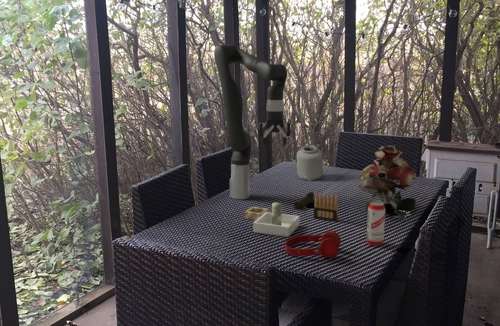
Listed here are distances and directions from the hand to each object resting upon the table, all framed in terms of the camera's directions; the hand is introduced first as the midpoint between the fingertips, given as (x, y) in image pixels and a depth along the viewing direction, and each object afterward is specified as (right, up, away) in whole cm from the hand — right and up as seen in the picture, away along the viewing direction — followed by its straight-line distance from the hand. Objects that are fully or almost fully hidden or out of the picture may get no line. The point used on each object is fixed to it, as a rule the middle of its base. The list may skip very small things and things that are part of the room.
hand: (274, 145), depth 225 cm
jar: (+23, -17, +62) cm, 68 cm away
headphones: (+12, -41, -43) cm, 60 cm away
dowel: (0, -34, -20) cm, 40 cm away
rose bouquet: (+52, -29, +6) cm, 60 cm away
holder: (-8, -32, -5) cm, 33 cm away
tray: (0, -35, -20) cm, 40 cm away
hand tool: (+15, -28, +13) cm, 35 cm away
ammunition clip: (+22, -33, -8) cm, 40 cm away
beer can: (+36, -39, -36) cm, 64 cm away
